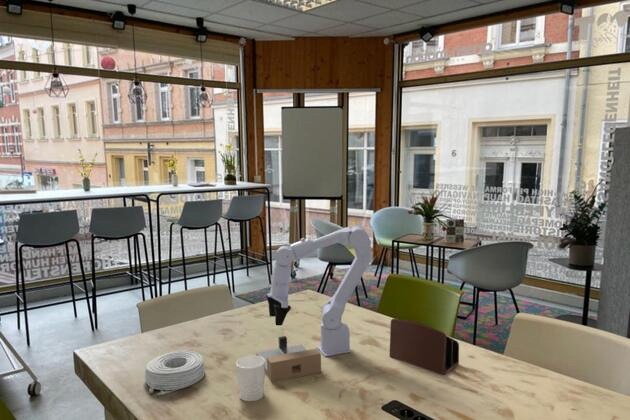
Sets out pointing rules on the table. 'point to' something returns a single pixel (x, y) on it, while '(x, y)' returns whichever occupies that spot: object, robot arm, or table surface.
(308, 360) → the door and jamb
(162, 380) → the cable
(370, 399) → the table surface
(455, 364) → the letter holder
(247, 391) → the white cup
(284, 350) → the bolt
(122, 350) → the table surface
